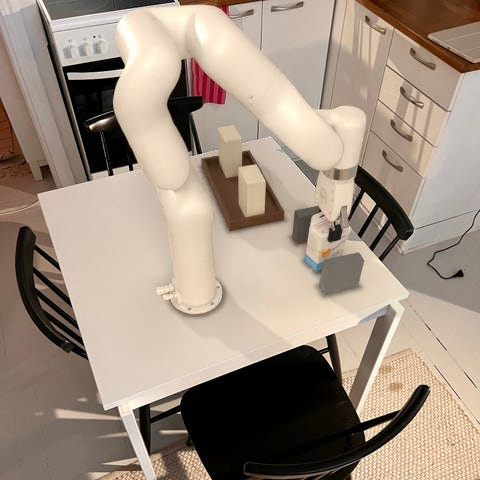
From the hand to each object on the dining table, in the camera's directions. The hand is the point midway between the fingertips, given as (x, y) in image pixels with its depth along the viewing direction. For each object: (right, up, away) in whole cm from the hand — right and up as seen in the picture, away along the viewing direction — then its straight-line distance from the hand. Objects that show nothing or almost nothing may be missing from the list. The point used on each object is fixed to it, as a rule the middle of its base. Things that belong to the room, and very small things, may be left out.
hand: (328, 231), depth 121 cm
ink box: (0, -6, +8) cm, 10 cm away
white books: (-21, +16, +26) cm, 37 cm away
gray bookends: (0, -6, +8) cm, 10 cm away
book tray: (-21, +16, +26) cm, 37 cm away
